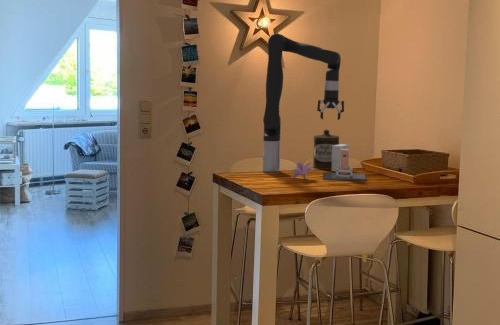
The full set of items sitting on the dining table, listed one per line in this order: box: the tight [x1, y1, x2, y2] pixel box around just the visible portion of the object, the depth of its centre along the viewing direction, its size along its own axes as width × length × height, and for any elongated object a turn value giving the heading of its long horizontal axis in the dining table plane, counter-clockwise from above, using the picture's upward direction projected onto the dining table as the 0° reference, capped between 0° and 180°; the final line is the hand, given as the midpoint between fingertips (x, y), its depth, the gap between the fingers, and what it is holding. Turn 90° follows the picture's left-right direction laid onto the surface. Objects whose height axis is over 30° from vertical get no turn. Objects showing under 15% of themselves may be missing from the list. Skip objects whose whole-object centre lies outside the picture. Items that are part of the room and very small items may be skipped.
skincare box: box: [331, 143, 350, 173], centre depth 345 cm, size 8×6×15 cm
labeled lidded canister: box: [312, 129, 340, 170], centre depth 359 cm, size 15×15×22 cm
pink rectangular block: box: [340, 148, 350, 175], centre depth 324 cm, size 6×4×14 cm, turn 173°
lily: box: [290, 161, 315, 179], centre depth 319 cm, size 12×12×10 cm
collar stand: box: [322, 166, 367, 182], centre depth 325 cm, size 22×16×5 cm
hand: (330, 119), depth 332 cm, fingers open, 8 cm apart
